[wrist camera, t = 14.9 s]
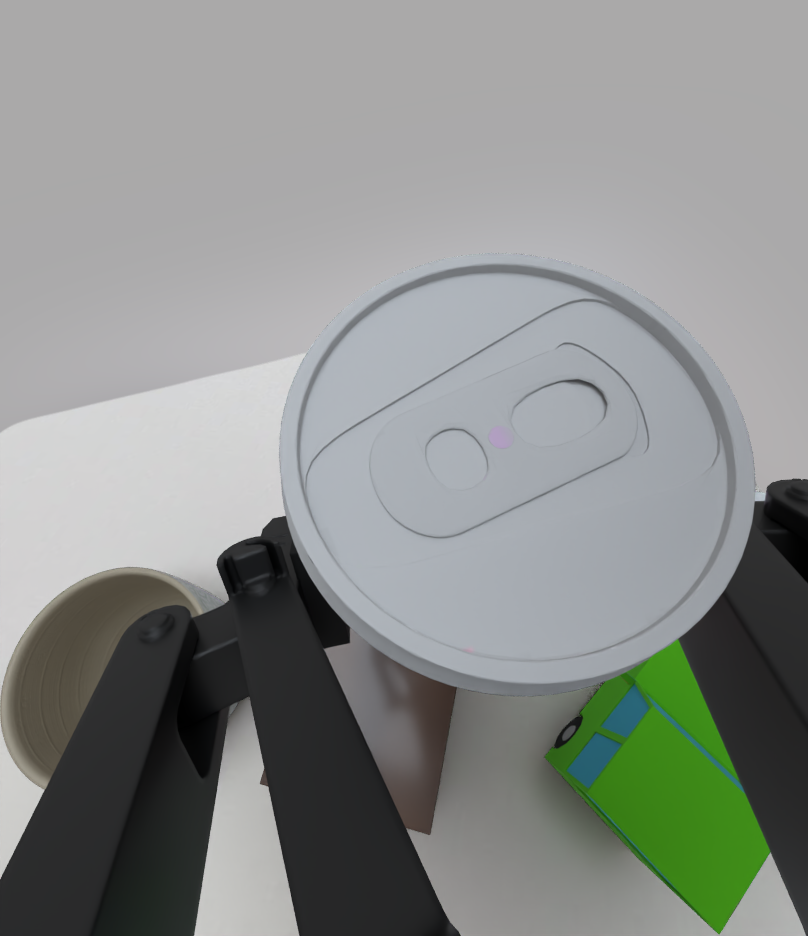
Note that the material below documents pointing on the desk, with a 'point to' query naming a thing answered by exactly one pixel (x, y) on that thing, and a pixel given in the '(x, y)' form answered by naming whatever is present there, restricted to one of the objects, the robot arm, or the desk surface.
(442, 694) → the riser
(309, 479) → the beverage can
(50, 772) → the planter
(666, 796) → the toy car
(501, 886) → the desk surface
